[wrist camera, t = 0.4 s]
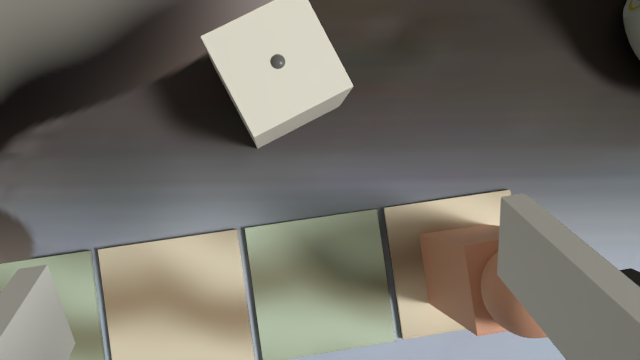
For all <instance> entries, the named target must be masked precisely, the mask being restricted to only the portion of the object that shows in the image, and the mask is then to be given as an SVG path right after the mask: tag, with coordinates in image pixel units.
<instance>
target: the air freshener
mask: <svg viewBox="0 0 640 360" xmlns="http://www.w3.org/2000/svg"><path fill="white" fill-rule="evenodd" d="M623 21H624V26H625V32H626V35H627V37H628V40H629V43H630V45H631V47H632V49H633V51H634V53H635V55H636V56H637V57H638V59H639V60H640V0H627V2H626V4H625V7H624V10H623Z"/></svg>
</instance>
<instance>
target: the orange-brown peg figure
mask: <svg viewBox="0 0 640 360" xmlns="http://www.w3.org/2000/svg"><path fill="white" fill-rule="evenodd" d="M419 238H420V245H421V252H422V259H423V266H424V272H425V279H426V286H427V293H428V300H429V304H430V305H432V306H433V307H435V308H436V309H438V310H439V311H441V312H442V313H444V314H445V315H447V316H448V317H450V318H451V319H453V320H454V321H456V322H457V323H459V324H460V325H462V326H463V327H465V328H466V329H468V330H469V331H471V332H472V333H474V334H475V335H477V336H481V335H487V334H492V333H498V332H504V331H509V332H511V333H514V334H516V335H519V336H522V337H527V338H544V337H547V335H546V334H545V333H544V332H543V330H542V329H541V328H540V327H539V325H538V324H537V323H536V322H535V321H534V319H533V318H532V317H531V316H530V314H529V313H528V312H527V311H526V309H525V308H524V307H523V306H522V305H521V303H520V302H519V301H518V300H517V298H516V297H515V296H514V295H513V293H512V292H511V291H510V290H509V289H508V287H507V286H506V285H505V284H504V282H503V281H502V280H501V279H500V277H499V276H498V275H497V266H498V246H499V226H496V225H488V224H484V225H477V226H470V227H464V228H457V229H451V230H444V231H437V232H431V233H424V234H419Z"/></svg>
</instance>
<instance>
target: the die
mask: <svg viewBox="0 0 640 360" xmlns="http://www.w3.org/2000/svg"><path fill="white" fill-rule="evenodd" d="M201 39H202V41H203V43H204V46H205V48H206V50H207V52H208V55H209V57H210V59H211V61H212V64H213V66H214V68H215V70H216V72H217V73H218V75H219V77H220V79H221V81H222V83H223V85H224V87H225V89H226V90H227V92H228V94H229V96H230V98H231V100H232V102H233V104H234V105H235V107H236V109H237V111H238V113H239V115H240V117H241V119H242V121H243V122H244V124H245V126H246V128H247V130H248V132H249V134H250V136H251V137H252V139H253V141H254V143H255V145H256V147H257V149H258V148H260V147H262V146H264V145H265V144H267V143H269V142H271V141H273V140H275V139H277V138H279V137H281V136H283V135H285V134H287V133H289V132H291V131H292V130H294V129H296V128H298V127H300V126H302V125H304V124H306V123H308V122H310V121H312V120H314V119H316V118H318V117H320V116H321V115H323V114H325V113H327V112H329V111H331V110H333V109H335V108H337V107H339V106H340V105H341V103H342V102H343V100H344V99H345V98H346V96H347V95H348V93H349V92H350V90H351V89H352V88H353V84H352V82H351V80H350V79H349V77H348V75H347V73H346V71H345V69H344V67H343V65H342V63H341V62H340V60H339V58H338V56H337V54H336V52H335V50H334V48H333V46H332V45H331V43H330V41H329V39H328V37H327V35H326V33H325V31H324V29H323V28H322V26H321V24H320V22H319V20H318V18H317V16H316V14H315V12H314V11H313V9H312V7H311V5H310V3H309V1H308V0H274V1H272V2H270V3H268V4H266V5H264V6H262V7H260V8H258V9H256V10H254V11H252V12H250V13H247V14H245V15H243V16H241V17H239V18H237V19H235V20H233V21H231V22H229V23H227V24H225V25H223V26H221V27H219V28H217V29H215V30H213V31H211V32H208V33H206V34H204V35H202V36H201Z"/></svg>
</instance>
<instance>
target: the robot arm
mask: <svg viewBox="0 0 640 360" xmlns="http://www.w3.org/2000/svg"><path fill="white" fill-rule="evenodd" d="M497 275H498V276H499V277H500V279H501V280H502V281H503V282H504V284H505V285H506V286H507V287H508V289H509V290H510V291H511V292H512V293H513V295H514V296H515V297H516V298H517V300H518V301H519V302H520V303H521V305H522V306H523V307H524V308H525V309H526V311H527V312H528V313H529V314H530V316H531V317H532V318H533V319H534V321H535V322H536V323H537V324H538V325H539V327H540V328H541V329H542V330H543V332H544V333H545V334H546V335H547V337H548V338H549V339H550V340H551V341H552V343H553V344H554V345H555V346H556V348H557V349H558V350H559V351H560V353H561V354H562V355H563V356H564V357H565V359H566V360H640V272H638V271H636V270H634V269H625V270H618V269H617V268H616V267H615V266H613V265H612V264H611V263H610V262H609V261H607V260H606V259H605V258H604V257H602V256H601V255H600V254H599V253H598V252H596V251H595V250H594V249H593V248H591V247H590V246H589V245H588V244H587V243H585V242H584V241H583V240H582V239H580V238H579V237H578V236H577V235H576V234H574V233H573V232H572V231H571V230H570V229H568V228H567V227H566V226H565V225H563V224H562V223H561V222H560V221H559V220H557V219H556V218H555V217H554V216H552V215H551V214H550V213H549V212H548V211H546V210H545V209H544V208H543V207H541V206H540V205H539V204H538V203H537V202H535V201H534V200H533V199H532V198H530V197H529V196H528V195H527V194H526V193H524V194H517V195H511V196H504V197H501V207H500V226H499V246H498V266H497ZM74 345H75V341H74V338H73V335H72V332H71V329H70V327H69V324H68V321H67V318H66V315H65V313H64V310H63V307H62V304H61V301H60V299H59V296H58V293H57V290H56V287H55V285H54V282H53V279H52V276H51V273H50V271H49V268H48V265H41V266H34V267H27V268H21V269H18V270H17V272H16V273H15V274H14V276H13V277H12V278H11V280H10V281H9V283H8V284H7V285H6V287H5V288H4V289H3V291H2V292H1V293H0V360H68V359H69V356H70V354H71V352H72V350H73V347H74Z"/></svg>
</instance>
